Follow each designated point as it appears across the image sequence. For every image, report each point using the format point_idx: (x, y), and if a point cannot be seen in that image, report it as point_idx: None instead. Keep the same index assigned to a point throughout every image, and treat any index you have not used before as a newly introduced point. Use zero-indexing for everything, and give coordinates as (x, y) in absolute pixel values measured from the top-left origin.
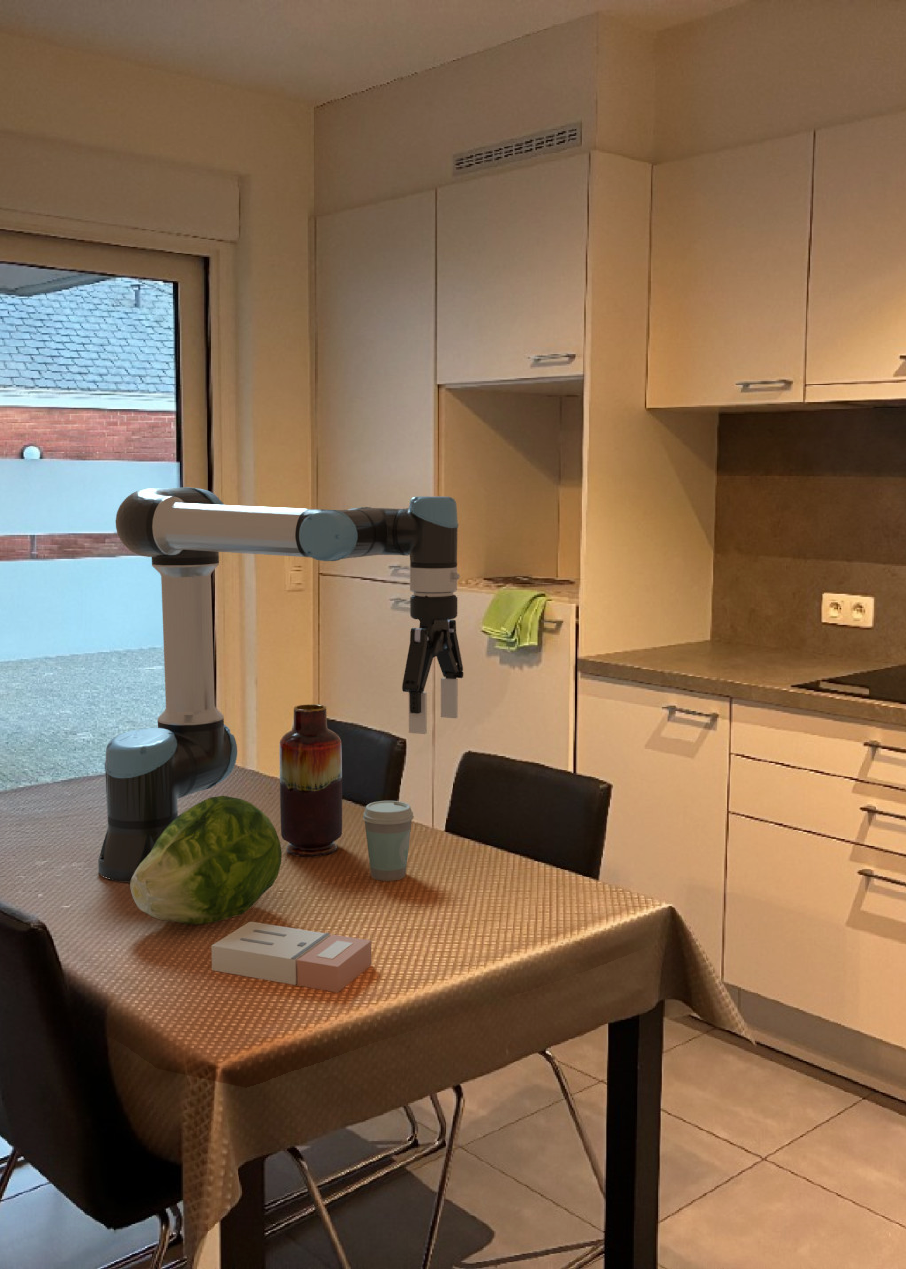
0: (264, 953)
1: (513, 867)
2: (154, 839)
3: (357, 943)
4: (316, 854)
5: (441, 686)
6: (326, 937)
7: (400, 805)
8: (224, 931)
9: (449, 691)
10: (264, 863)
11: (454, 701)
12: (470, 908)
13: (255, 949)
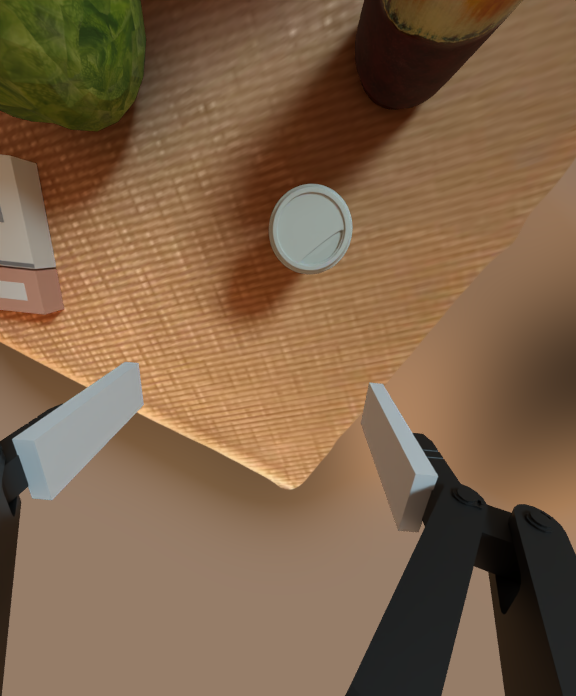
0: None
1: (369, 363)
2: None
3: (30, 304)
4: (363, 86)
5: (400, 450)
6: (26, 267)
7: (339, 244)
8: None
9: (387, 464)
10: (33, 115)
11: (373, 453)
12: (233, 352)
13: None
